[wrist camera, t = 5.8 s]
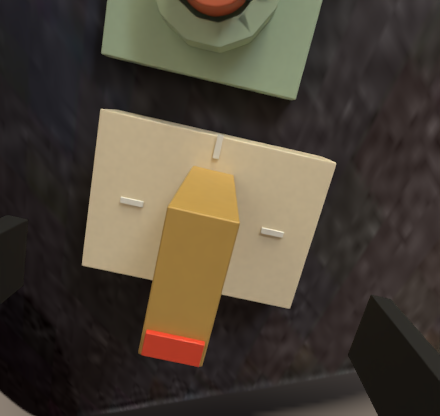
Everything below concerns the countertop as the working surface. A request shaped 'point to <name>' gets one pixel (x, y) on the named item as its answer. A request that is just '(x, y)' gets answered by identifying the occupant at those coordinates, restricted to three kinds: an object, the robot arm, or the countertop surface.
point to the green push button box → (216, 41)
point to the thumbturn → (191, 267)
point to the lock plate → (170, 183)
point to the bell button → (216, 6)
